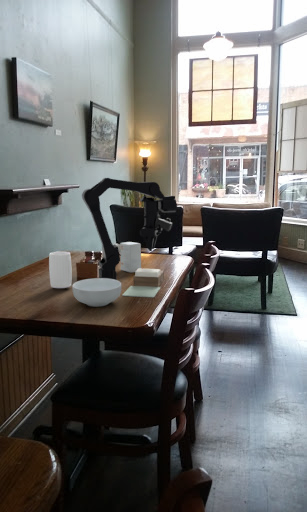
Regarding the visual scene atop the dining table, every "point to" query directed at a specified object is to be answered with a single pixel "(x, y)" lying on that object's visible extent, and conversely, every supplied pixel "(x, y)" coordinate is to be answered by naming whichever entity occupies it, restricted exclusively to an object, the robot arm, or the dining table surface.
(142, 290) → the mat
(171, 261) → the dining table surface
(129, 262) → the small box
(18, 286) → the dining table surface
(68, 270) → the cup
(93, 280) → the cereal bowl
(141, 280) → the brown flat wooden block
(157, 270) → the white rectangular block
